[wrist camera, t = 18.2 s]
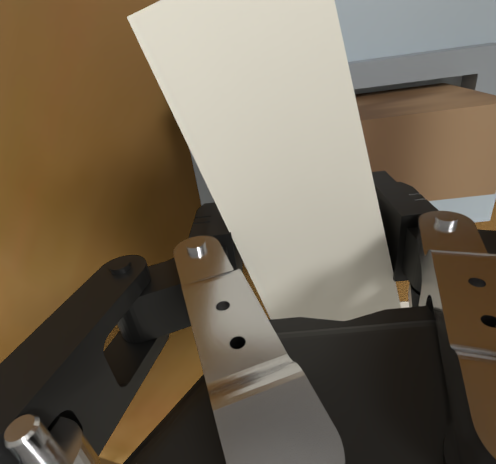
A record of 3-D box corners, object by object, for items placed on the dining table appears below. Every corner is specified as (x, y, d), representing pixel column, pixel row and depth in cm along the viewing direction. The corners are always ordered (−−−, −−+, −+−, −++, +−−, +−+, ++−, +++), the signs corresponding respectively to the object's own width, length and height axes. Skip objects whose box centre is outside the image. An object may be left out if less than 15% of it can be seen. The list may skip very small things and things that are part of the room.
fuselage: (443, 82, 19) (519, 101, 13) (432, 154, 21) (494, 194, 15) (226, 110, 19) (218, 138, 14) (236, 176, 21) (232, 222, 16)
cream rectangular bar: (171, 24, 11) (126, 16, 7) (291, -33, 10) (317, -78, 6) (299, 325, 17) (313, 409, 13) (378, 304, 17) (417, 386, 13)
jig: (539, -38, 17) (697, -78, 11) (479, 212, 24) (555, 271, 18) (166, 17, 18) (125, 8, 12) (212, 240, 25) (200, 303, 19)
